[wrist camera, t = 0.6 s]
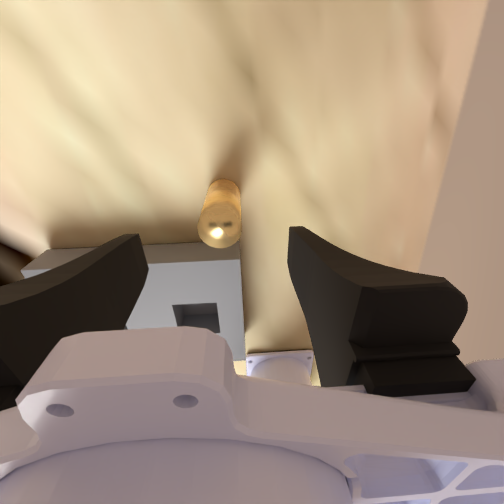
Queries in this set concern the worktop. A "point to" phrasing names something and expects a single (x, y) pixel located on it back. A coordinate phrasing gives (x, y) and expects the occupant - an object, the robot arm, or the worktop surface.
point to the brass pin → (221, 215)
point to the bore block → (180, 288)
